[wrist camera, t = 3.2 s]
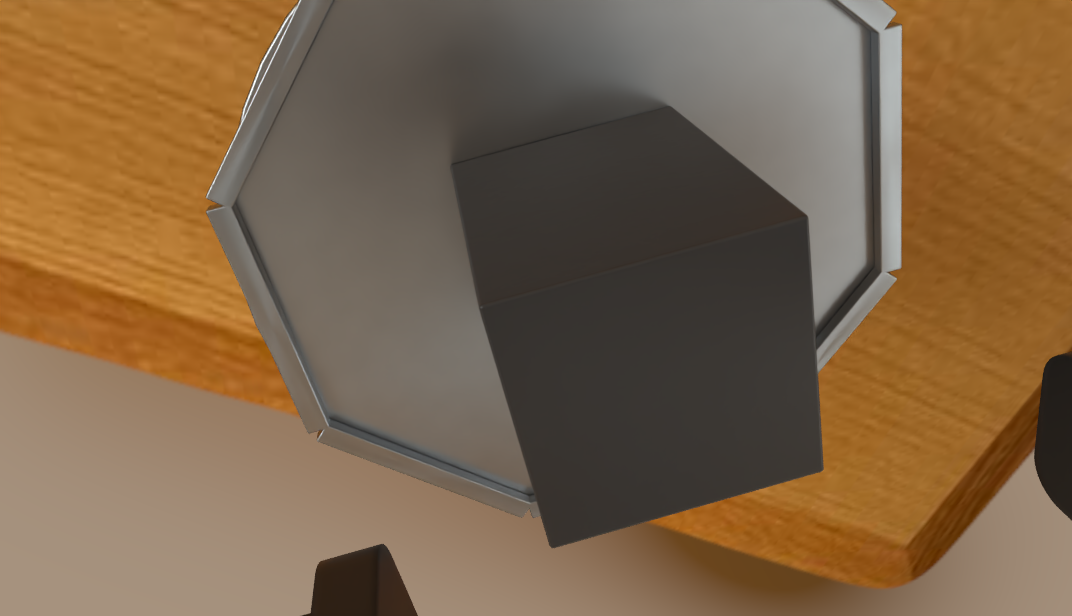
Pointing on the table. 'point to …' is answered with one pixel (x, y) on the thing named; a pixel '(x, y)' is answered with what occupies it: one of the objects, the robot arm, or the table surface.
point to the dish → (501, 124)
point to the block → (643, 320)
